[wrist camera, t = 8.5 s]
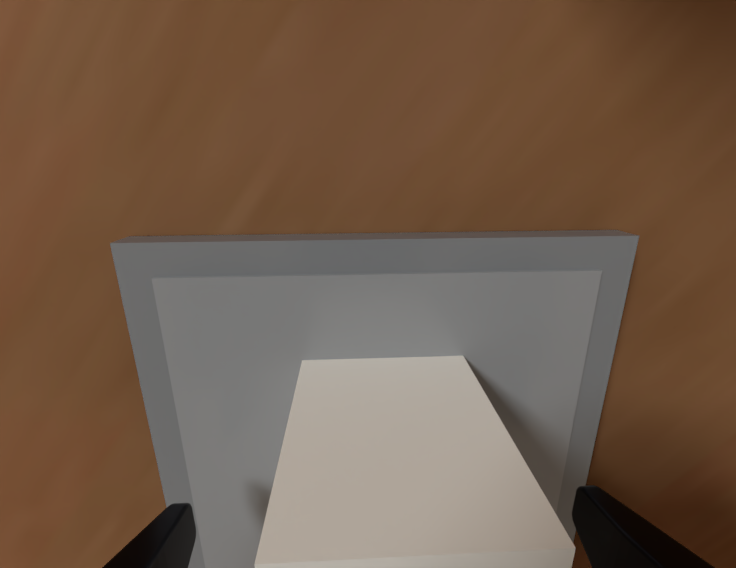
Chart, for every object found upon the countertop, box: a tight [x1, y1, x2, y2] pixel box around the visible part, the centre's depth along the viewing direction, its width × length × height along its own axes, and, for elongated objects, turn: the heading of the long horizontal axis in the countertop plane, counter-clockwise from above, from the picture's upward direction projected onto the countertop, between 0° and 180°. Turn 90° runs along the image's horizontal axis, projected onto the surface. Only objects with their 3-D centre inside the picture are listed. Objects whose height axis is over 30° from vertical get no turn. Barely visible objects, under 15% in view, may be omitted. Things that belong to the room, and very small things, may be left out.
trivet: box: [110, 230, 639, 568], centre depth 11 cm, size 12×12×1 cm
